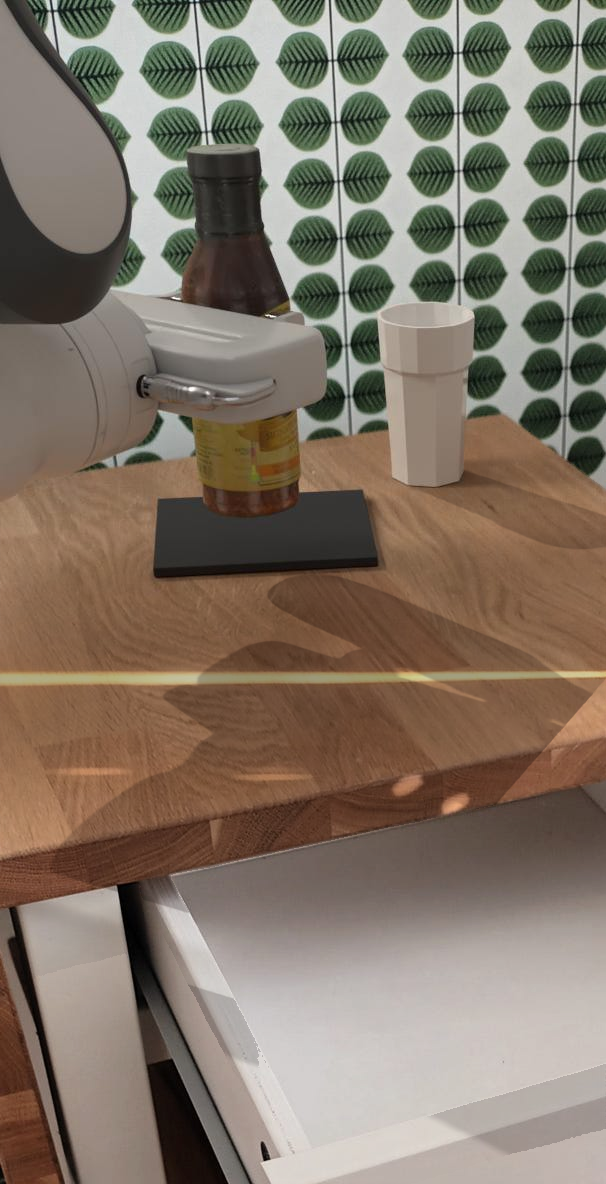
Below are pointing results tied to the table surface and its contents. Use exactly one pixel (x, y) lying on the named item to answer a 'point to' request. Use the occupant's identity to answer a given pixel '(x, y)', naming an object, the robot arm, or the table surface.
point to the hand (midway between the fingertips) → (243, 315)
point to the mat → (264, 536)
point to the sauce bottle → (248, 286)
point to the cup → (426, 388)
